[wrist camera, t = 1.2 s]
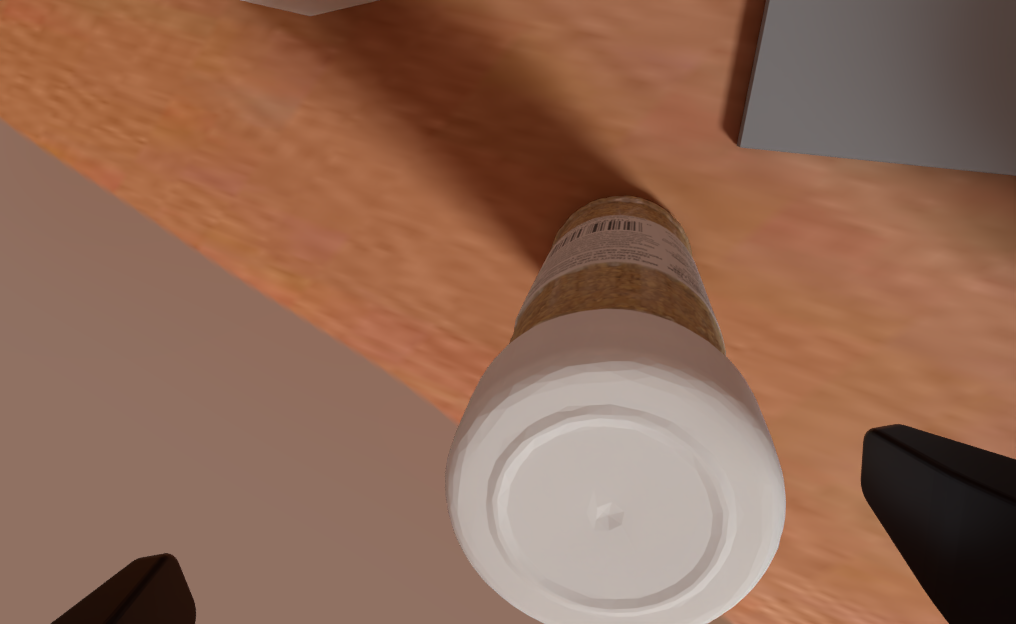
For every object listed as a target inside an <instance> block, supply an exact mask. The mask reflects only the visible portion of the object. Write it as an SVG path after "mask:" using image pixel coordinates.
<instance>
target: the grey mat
mask: <svg viewBox="0 0 1016 624" xmlns="http://www.w3.org/2000/svg"><path fill="white" fill-rule="evenodd" d="M737 146H738V147H742V148H752V149H762V150H771V151H781V152H791V153H800V154H810V155H820V156H830V157H839V158H849V159H859V160H869V161H878V162H888V163H898V164H907V165H917V166H927V167H937V168H946V169H956V170H966V171H976V172H985V173H995V174H1005V175H1014V176H1016V0H766V3H765V8H764V13H763V18H762V23H761V28H760V33H759V38H758V43H757V48H756V53H755V58H754V63H753V68H752V73H751V78H750V83H749V87H748V92H747V97H746V102H745V107H744V112H743V117H742V122H741V127H740V132H739V137H738V142H737Z"/></svg>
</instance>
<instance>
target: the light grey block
mask: <svg viewBox="0 0 1016 624" xmlns="http://www.w3.org/2000/svg"><path fill="white" fill-rule="evenodd" d="M241 1H246V2H250V3H255V4H259V5H263V6H268V7H272V8H276V9H281V10H285V11H289V12H294V13H298V14H303V15H307V16H314V15H318V14H322V13H327V12H331V11H335V10H340V9H344V8H348V7H353V6H357V5H361V4H366V3H370V2H374V1H378V0H241Z"/></svg>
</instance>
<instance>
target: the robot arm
mask: <svg viewBox="0 0 1016 624" xmlns="http://www.w3.org/2000/svg"><path fill="white" fill-rule="evenodd" d="M861 487H862V491H863V494H864V496H865V499H866V501H867V502H868V504H869V505H870V507H871V509H872V510H873V512H874V513H875V515H876V516H877V518H878V519H879V521H880V522H881V524H882V526H883V527H884V529H885V530H886V532H887V533H888V535H889V536H890V538H891V540H892V541H893V543H894V544H895V546H896V547H897V549H898V550H899V552H900V553H901V555H902V557H903V558H904V560H905V561H906V563H907V564H908V566H909V567H910V569H911V570H912V572H913V574H914V575H915V577H916V578H917V580H918V581H919V583H920V584H921V586H922V587H923V589H924V590H925V592H926V593H927V595H928V596H929V597H930V599H931V600H932V602H933V603H934V605H935V606H936V607H937V609H938V610H939V611H940V613H941V614H942V615H943V616H944V618H945V619H946V620H947V622H948V623H949V624H1016V459H1012V458H1009V457H1006V456H1003V455H999V454H996V453H993V452H990V451H986V450H983V449H980V448H977V447H973V446H970V445H967V444H964V443H960V442H957V441H954V440H951V439H947V438H944V437H941V436H938V435H934V434H931V433H928V432H925V431H922V430H918V429H915V428H912V427H909V426H905V425H901V424H894V425H888V426H882V427H877V428H872V429H870V430H869V431H867V432H866V434H865V436H864V441H863V454H862V469H861ZM195 621H196V608H195V603H194V600H193V597H192V595H191V592H190V590H189V587H188V585H187V582H186V580H185V577H184V575H183V572H182V570H181V567H180V565H179V563H178V561H177V559H176V558H175V557H174V556H173V555H171V554H168V553H165V554H159V555H154V556H148V557H142V558H138V559H136V560H134V561H133V562H131V563H130V564H129V565H127V566H126V567H125V568H123V569H122V570H121V571H119V572H118V573H117V574H115V575H114V576H113V577H112V578H110V579H109V580H107V581H106V582H105V583H104V584H102V585H101V586H100V587H98V588H97V589H96V590H95V591H93V592H92V593H90V594H89V595H88V596H86V597H85V598H84V599H82V600H81V601H80V602H78V603H77V604H76V605H75V606H73V607H72V608H71V609H69V610H68V611H67V612H65V613H64V614H63V615H61V616H60V617H59V618H57V619H56V620H55V621H53V622H52V623H51V624H195Z"/></svg>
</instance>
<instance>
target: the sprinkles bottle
mask: <svg viewBox="0 0 1016 624" xmlns="http://www.w3.org/2000/svg"><path fill="white" fill-rule="evenodd" d="M445 483H446V484H445V487H446V489H445V490H446V501H447V507H448V513H449V517H450V520H451V523H452V527H453V530H454V532H455V535H456V537H457V540H458V542H459V544H460V546H461V548H462V550H463V552H464V553H465V555H466V557H467V559H468V560H469V562H470V563H471V565H472V566H473V567H474V569H475V570H476V571H477V572H478V574H479V575H480V576H481V577H482V579H483V580H484V581H485V582H486V583H487V584H488V585H489V586H490V587H491V588H493V590H495V591H496V592H497V593H498V594H499V595H500V596H501V597H502V598H504V599H505V600H506V601H508V602H509V603H510V604H511V605H513V606H514V607H516V608H517V609H519V610H520V611H522V612H524V613H525V614H527V615H528V616H530V617H533V618H534V619H536V620H538V621H540V622H542V623H544V624H707V623H709V622H711V621H712V620H714V619H716V618H717V617H719V616H720V615H722V614H723V613H725V612H726V611H728V610H730V609H731V608H733V607H734V606H735V605H736V604H737V603H738V602H739V601H740V600H742V599H743V598H744V597H745V596H746V595H747V594H748V593H749V592H750V591H751V590H752V589H753V588H754V586H755V585H756V584H757V583H758V581H759V580H760V579H761V577H762V576H763V574H764V573H765V572H766V570H767V569H768V567H769V565H770V563H771V561H772V559H773V557H774V555H775V553H776V551H777V549H778V547H779V542H780V537H781V534H782V531H783V526H784V522H785V509H786V499H785V487H784V479H783V473H782V469H781V466H780V463H779V460H778V456H777V453H776V450H775V447H774V444H773V441H772V438H771V435H770V433H769V430H768V428H767V425H766V423H765V420H764V418H763V415H762V413H761V411H760V408H759V406H758V403H757V401H756V398H755V396H754V395H753V393H752V391H751V389H750V387H749V386H748V384H747V382H746V380H745V379H744V377H743V376H742V375H741V373H740V372H739V371H738V369H737V368H736V367H735V366H734V365H733V364H732V362H731V361H730V360H729V359H728V358H727V357H726V351H725V346H724V341H723V337H722V334H721V330H720V327H719V325H718V323H717V320H716V318H715V315H714V312H713V310H712V307H711V305H710V302H709V299H708V296H707V294H706V291H705V288H704V285H703V283H702V280H701V277H700V275H699V272H698V270H697V267H696V264H695V262H694V260H693V258H692V251H691V247H690V243H689V240H688V238H687V236H686V234H685V232H684V230H683V228H682V226H681V225H680V223H679V222H678V221H677V220H676V219H674V218H673V217H672V216H671V214H670V213H668V212H667V211H666V210H665V209H664V208H662V207H660V206H659V205H657V204H655V203H653V202H651V201H648V200H645V199H643V198H639V197H634V196H612V197H608V198H602V199H597V200H595V201H592V202H590V203H588V204H587V205H585V206H584V207H582V208H580V209H579V210H577V211H576V212H575V213H573V214H572V215H571V216H570V217H569V219H568V220H567V221H566V223H565V224H564V225H563V226H562V227H561V228H560V229H559V231H558V232H557V235H556V237H555V239H554V242H553V244H552V248H551V251H550V252H549V254H548V256H547V258H546V260H545V262H544V264H543V266H542V268H541V269H540V271H539V273H538V275H537V277H536V279H535V281H534V283H533V285H532V287H531V289H530V291H529V293H528V295H527V297H526V299H525V301H524V303H523V305H522V307H521V309H520V312H519V314H518V316H517V318H516V321H515V328H514V334H513V336H512V338H511V340H510V343H509V344H508V345H507V347H506V348H505V349H504V350H503V351H502V352H501V353H500V354H499V355H498V356H497V357H496V358H495V359H494V360H493V362H492V363H491V364H490V365H489V367H488V368H487V370H486V371H485V373H484V374H483V376H482V377H481V379H480V381H479V383H478V385H477V387H476V389H475V391H474V393H473V395H472V397H471V399H470V401H469V403H468V406H467V408H466V410H465V412H464V415H463V417H462V419H461V422H460V424H459V426H458V428H457V431H456V433H455V436H454V439H453V442H452V445H451V449H450V452H449V455H448V459H447V465H446V475H445Z"/></svg>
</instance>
